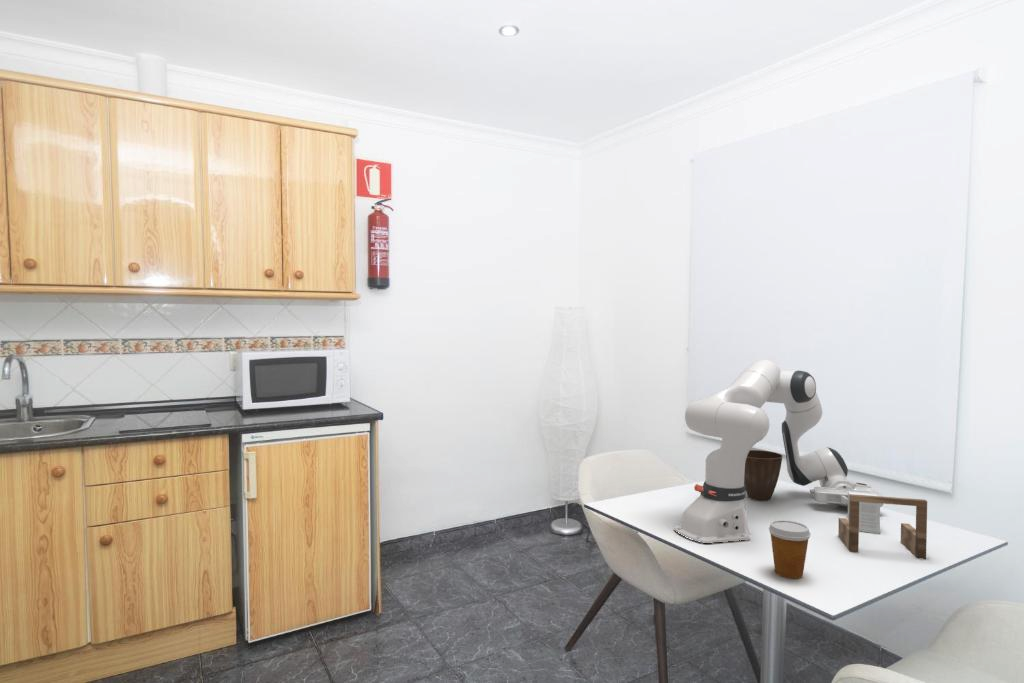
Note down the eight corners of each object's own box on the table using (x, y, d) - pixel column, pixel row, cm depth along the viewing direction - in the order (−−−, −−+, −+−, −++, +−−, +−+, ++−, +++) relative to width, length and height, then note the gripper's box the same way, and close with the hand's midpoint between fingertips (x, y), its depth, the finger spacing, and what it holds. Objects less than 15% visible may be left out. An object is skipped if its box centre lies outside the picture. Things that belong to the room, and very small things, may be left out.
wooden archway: (838, 536, 170) (839, 484, 169) (908, 542, 165) (909, 489, 165) (850, 551, 158) (851, 495, 158) (926, 559, 153) (927, 501, 153)
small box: (877, 528, 177) (877, 494, 177) (880, 534, 172) (880, 499, 172) (847, 524, 180) (847, 491, 180) (849, 530, 175) (849, 495, 175)
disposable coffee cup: (791, 584, 138) (791, 535, 138) (759, 569, 147) (760, 522, 146) (819, 577, 142) (819, 529, 142) (786, 563, 151) (787, 517, 150)
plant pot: (729, 497, 208) (729, 453, 208) (748, 489, 218) (748, 447, 218) (770, 507, 197) (771, 460, 197) (788, 498, 207) (789, 454, 207)
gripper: (808, 480, 202) (818, 491, 188) (875, 485, 196) (889, 496, 183) (808, 498, 202) (817, 510, 188) (874, 503, 196) (889, 516, 183)
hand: (853, 503), depth 186 cm, fingers closed
